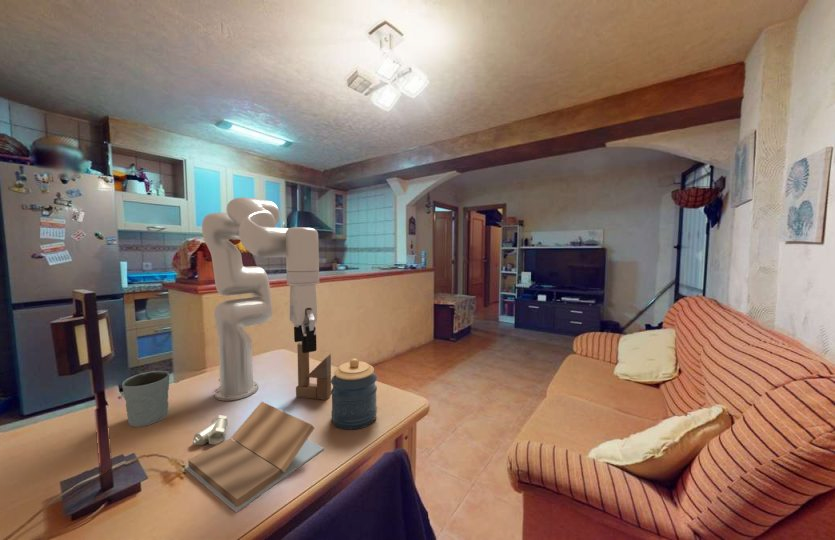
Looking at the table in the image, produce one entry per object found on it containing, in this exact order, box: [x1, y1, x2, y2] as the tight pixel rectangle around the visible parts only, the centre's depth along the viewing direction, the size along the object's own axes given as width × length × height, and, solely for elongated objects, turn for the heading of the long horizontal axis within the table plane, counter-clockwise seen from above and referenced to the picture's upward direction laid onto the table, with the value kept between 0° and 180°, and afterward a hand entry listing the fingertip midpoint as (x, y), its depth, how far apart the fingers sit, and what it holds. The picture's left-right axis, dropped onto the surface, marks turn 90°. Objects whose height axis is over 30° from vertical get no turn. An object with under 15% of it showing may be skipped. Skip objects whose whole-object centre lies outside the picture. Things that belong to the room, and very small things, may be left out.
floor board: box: [187, 437, 280, 507], centre depth 67 cm, size 20×9×2 cm, turn 58°
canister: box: [330, 357, 378, 430], centre depth 88 cm, size 13×13×18 cm
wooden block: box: [295, 341, 332, 400], centre depth 100 cm, size 4×11×18 cm, turn 83°
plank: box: [230, 401, 315, 472], centre depth 74 cm, size 20×10×2 cm
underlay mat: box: [184, 439, 325, 513], centre depth 71 cm, size 21×21×1 cm
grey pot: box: [121, 370, 171, 427], centre depth 87 cm, size 10×10×12 cm
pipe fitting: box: [192, 414, 229, 447], centre depth 79 cm, size 8×4×7 cm
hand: (304, 346), depth 76 cm, fingers open, 9 cm apart
